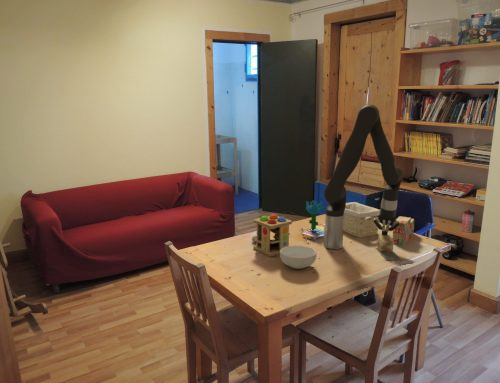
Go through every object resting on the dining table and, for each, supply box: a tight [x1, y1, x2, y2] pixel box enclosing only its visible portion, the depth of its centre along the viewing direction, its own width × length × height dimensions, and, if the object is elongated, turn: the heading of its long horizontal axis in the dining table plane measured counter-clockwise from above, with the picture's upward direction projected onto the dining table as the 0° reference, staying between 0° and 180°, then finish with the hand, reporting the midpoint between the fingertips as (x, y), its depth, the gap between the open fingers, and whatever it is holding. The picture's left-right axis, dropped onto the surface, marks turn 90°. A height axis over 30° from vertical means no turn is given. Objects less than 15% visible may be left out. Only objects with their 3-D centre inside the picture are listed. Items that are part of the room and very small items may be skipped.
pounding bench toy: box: [251, 213, 293, 257], centre depth 215 cm, size 23×14×18 cm, turn 37°
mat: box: [375, 247, 403, 262], centre depth 206 cm, size 7×17×1 cm, turn 1°
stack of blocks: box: [392, 215, 415, 246], centre depth 227 cm, size 21×6×12 cm, turn 146°
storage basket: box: [343, 201, 380, 238], centre depth 241 cm, size 24×16×15 cm
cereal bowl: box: [279, 245, 317, 270], centre depth 192 cm, size 17×17×7 cm
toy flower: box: [305, 199, 323, 230], centre depth 239 cm, size 9×9×18 cm
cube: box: [376, 234, 395, 252], centre depth 210 cm, size 6×6×6 cm
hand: (384, 236), depth 212 cm, fingers closed
